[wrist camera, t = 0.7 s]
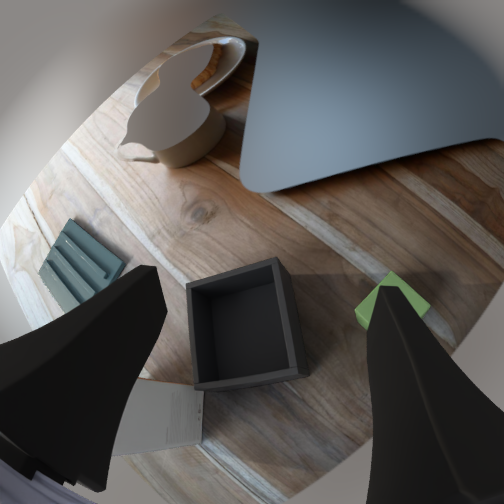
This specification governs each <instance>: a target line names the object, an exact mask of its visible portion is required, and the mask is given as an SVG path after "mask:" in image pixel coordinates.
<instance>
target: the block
mask: <svg viewBox="0 0 504 504" xmlns="http://www.w3.org/2000/svg"><path fill="white" fill-rule="evenodd" d="M380 285H385V286H398V287H399V288H400V289H401V291H402V292H403V294H404V295H405V296H406V298H407V299H408V301H409V302H410V303H411V305H412V306H413V308H414V309H415V310H416V312H417V313H418V315H419V316H420V318H421V319H423V317H424V316H425V314H426V313H427V311H428V310H429V308H430V307H431V305H430V304H429V303H428V302H427V301H426V300H424V299H423V298H422V297H421V296H420V295H419V294H418V293H417V292H416V291H415V290H413V289H412V288H411V287H410V286H409V285H408V284H407V283H406V282H405V281H403V280H402V279H401V278H400V277H399V276H398V275H397V274H395V273H394V272H393V271H390V272H389V274H388V275H387V276H386V277H385V278H384V279H383V280H382V281H381V282H380V283H379V284H378V286H377V287H376V288H375V289H374V290H373V291H372V292H371V293H370V294H369V295H368V296H367V297H366V298H365V299H364V300H363V301H362V302H361V303H360V304H359V305H358V306H357V308H356V309H355V313H356V317H357V321H358V323H359V324H360V325H361V326H363V327H364V328H365V329H366V330H367V329H368V326H369V323H370V319H371V316H372V312H373V309H374V305H375V301H376V298H377V294H378V290H379V286H380Z"/></svg>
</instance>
